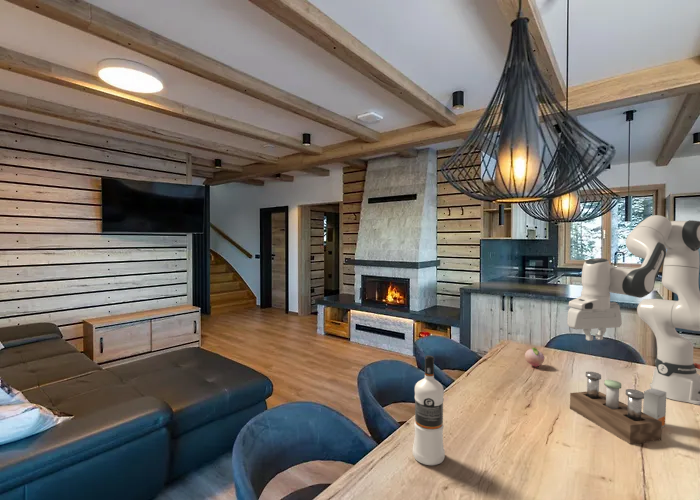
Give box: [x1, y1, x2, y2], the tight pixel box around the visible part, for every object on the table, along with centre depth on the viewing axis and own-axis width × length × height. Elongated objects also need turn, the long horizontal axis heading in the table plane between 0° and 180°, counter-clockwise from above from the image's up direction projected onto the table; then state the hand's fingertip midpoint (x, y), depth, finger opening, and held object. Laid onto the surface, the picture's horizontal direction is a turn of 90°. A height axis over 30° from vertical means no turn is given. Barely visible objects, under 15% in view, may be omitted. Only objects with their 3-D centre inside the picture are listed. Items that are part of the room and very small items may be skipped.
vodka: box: [412, 355, 446, 466], centre depth 106 cm, size 9×9×30 cm
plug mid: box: [603, 379, 622, 410], centre depth 126 cm, size 5×5×9 cm
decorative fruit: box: [524, 347, 545, 368], centre depth 181 cm, size 9×8×10 cm
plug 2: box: [625, 388, 644, 421], centre depth 118 cm, size 5×5×9 cm
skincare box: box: [642, 388, 667, 428], centre depth 124 cm, size 6×4×12 cm
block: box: [569, 391, 663, 445], centre depth 126 cm, size 12×24×6 cm, turn 11°
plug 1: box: [585, 371, 602, 399], centre depth 134 cm, size 5×5×9 cm
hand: (594, 339), depth 133 cm, fingers open, 3 cm apart
